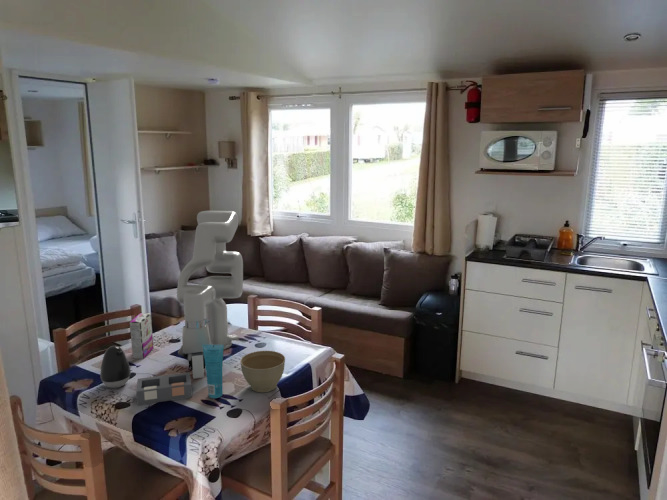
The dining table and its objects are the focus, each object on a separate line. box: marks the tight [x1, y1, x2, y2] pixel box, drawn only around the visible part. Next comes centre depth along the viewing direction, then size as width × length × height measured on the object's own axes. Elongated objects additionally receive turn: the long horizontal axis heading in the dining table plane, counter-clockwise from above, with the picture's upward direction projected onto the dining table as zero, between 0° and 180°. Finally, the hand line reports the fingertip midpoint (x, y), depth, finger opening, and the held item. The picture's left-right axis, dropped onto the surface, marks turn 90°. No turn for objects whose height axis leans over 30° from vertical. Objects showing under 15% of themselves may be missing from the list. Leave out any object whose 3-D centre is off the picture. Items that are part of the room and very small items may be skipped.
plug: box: [191, 352, 205, 380], centre depth 189 cm, size 4×4×10 cm
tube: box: [202, 344, 225, 399], centre depth 174 cm, size 7×5×19 cm, turn 96°
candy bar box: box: [128, 312, 155, 360], centre depth 209 cm, size 11×5×16 cm, turn 179°
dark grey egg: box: [100, 345, 131, 389], centre depth 181 cm, size 10×10×15 cm
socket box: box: [135, 371, 193, 406], centre depth 175 cm, size 18×10×5 cm, turn 108°
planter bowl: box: [240, 350, 286, 393], centre depth 181 cm, size 16×16×11 cm
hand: (197, 367), depth 189 cm, fingers closed on plug, 4 cm apart
